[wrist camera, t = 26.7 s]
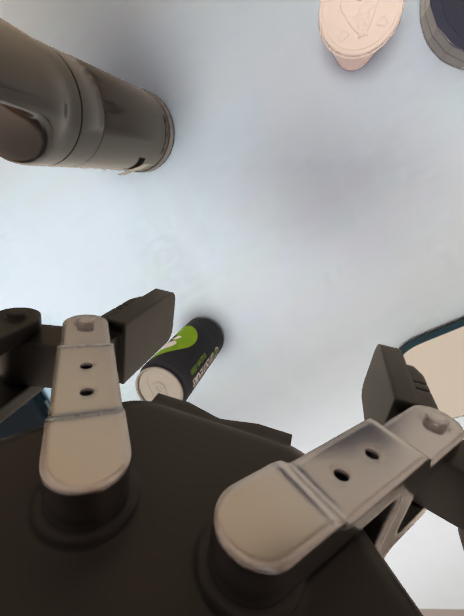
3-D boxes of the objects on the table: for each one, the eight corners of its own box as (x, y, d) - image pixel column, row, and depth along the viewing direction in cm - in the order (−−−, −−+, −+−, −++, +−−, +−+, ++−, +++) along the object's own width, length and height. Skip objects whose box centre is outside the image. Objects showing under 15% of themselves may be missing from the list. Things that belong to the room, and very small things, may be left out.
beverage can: (225, 356, 52) (186, 418, 38) (187, 352, 54) (137, 410, 40) (223, 317, 50) (182, 368, 36) (183, 315, 51) (129, 362, 38)
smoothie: (385, -1, 33) (416, -111, 21) (391, 74, 35) (422, 14, 23) (318, 25, 36) (308, -62, 23) (326, 94, 37) (321, 49, 25)
